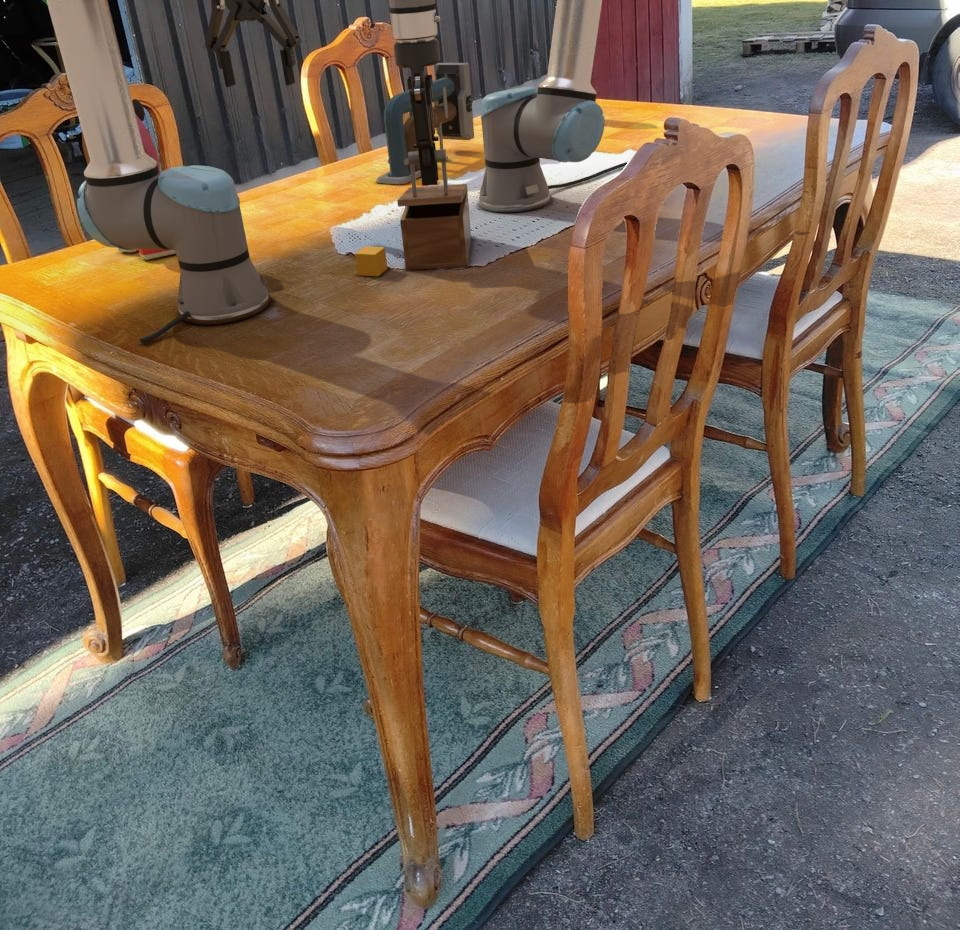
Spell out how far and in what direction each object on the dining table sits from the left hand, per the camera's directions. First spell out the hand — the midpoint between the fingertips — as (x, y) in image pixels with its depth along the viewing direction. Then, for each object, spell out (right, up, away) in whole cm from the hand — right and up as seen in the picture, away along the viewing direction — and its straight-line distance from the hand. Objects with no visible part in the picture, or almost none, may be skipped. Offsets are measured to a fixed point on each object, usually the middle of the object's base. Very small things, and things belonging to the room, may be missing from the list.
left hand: (260, 85), depth 196 cm
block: (+25, -42, -19) cm, 52 cm away
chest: (+37, -37, -12) cm, 54 cm away
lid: (+36, -28, -18) cm, 49 cm away
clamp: (+31, -2, +48) cm, 57 cm away
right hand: (+36, -27, -24) cm, 51 cm away
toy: (-23, -33, +3) cm, 40 cm away
